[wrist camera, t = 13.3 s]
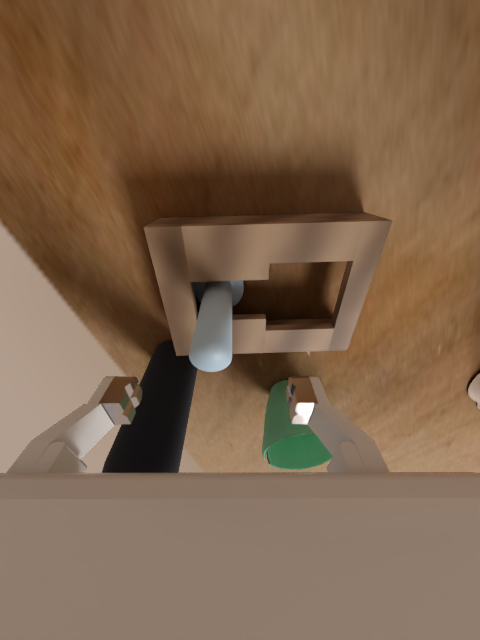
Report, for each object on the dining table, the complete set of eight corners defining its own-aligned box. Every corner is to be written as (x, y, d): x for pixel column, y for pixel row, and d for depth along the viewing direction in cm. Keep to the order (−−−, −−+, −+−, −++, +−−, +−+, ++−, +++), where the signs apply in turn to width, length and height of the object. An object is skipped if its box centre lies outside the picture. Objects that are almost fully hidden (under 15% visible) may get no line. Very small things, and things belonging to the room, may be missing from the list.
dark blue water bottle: (153, 337, 29) (-310, 1287, 4) (201, 343, 30) (44, 1168, 5) (154, 369, 33) (-96, 992, 8) (197, 374, 33) (93, 950, 9)
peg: (243, 260, 23) (252, 323, 13) (242, 304, 27) (249, 382, 17) (192, 260, 23) (162, 324, 13) (197, 305, 26) (176, 384, 16)
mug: (245, 397, 37) (249, 462, 29) (276, 361, 32) (291, 426, 24) (312, 418, 41) (332, 479, 33) (348, 389, 36) (382, 452, 28)
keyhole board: (364, 212, 21) (392, 220, 17) (332, 327, 29) (347, 350, 25) (159, 217, 21) (143, 227, 17) (183, 332, 29) (176, 355, 25)
